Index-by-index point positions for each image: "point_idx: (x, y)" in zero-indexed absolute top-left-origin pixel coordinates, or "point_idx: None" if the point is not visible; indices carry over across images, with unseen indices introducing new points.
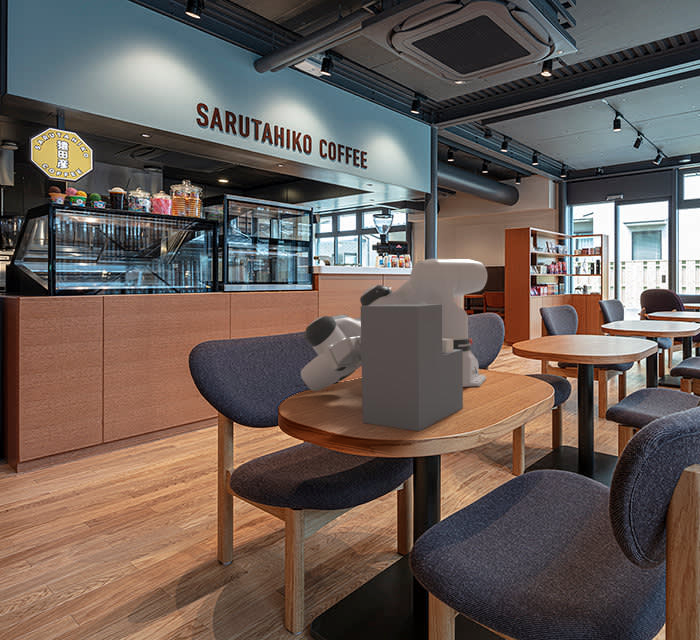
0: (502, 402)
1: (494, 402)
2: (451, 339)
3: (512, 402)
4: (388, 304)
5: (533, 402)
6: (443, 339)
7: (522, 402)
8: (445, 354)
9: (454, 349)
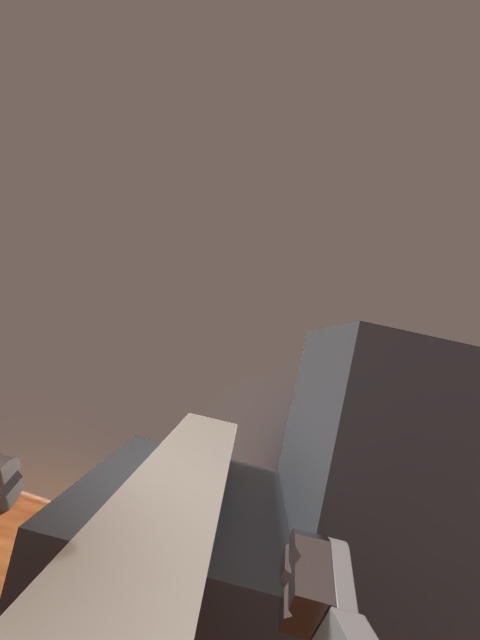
0: (6, 537)
1: (3, 551)
2: (201, 416)
3: (11, 523)
4: (359, 321)
5: (18, 497)
6: (214, 424)
7: (14, 510)
8: (256, 465)
9: (131, 443)
